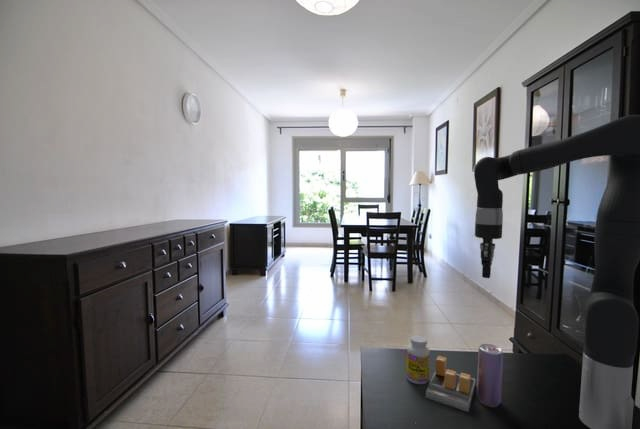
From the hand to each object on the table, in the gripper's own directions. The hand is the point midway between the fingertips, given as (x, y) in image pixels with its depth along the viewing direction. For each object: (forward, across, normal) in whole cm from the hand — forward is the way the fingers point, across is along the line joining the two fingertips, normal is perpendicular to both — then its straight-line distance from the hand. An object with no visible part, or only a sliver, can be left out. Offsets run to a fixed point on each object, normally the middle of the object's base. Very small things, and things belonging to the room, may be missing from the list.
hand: (486, 277), depth 102 cm
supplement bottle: (+31, -15, +16) cm, 38 cm away
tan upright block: (+29, -18, +3) cm, 34 cm away
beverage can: (+31, -15, -3) cm, 35 cm away
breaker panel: (+31, -16, +6) cm, 35 cm away
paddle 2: (+29, -18, +7) cm, 35 cm away
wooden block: (+29, -12, +10) cm, 33 cm away
